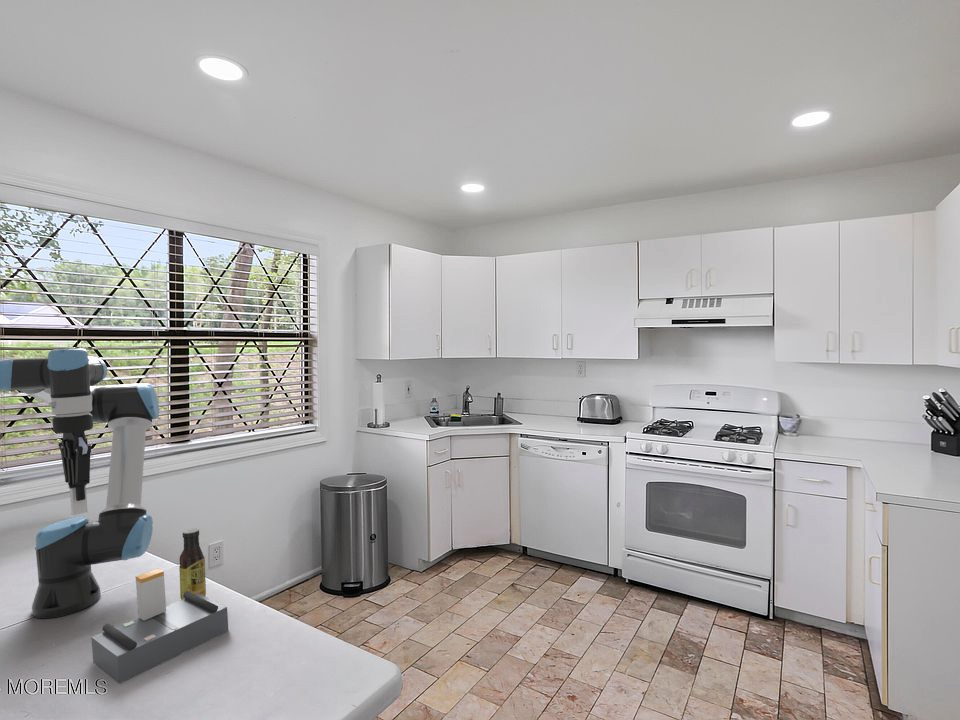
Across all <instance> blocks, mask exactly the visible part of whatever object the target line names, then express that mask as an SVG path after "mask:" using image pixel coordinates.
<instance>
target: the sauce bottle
mask: <svg viewBox="0 0 960 720" xmlns="http://www.w3.org/2000/svg"><path fill="white" fill-rule="evenodd" d="M182 538H183V550H182V552H181V554H180V556H179V559H178V560H179V568H178V569H179V595H180V596H179V597H180V600H182V599H185V598H184V597H183V595H184V593H185V592H187V591H188V592H190V593H192V594H194V595H195V594H197V593H200V594H202V595H204V596H206V595H207V588H206V587H207V584H206V582H207V581H206V561H205V559H206V558H205V556H204V554H203V551H202V548H201V546H200V540H199V539H200V529H198V528H191V529H187V530H184V531H182ZM206 597H207V596H206Z"/></svg>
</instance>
